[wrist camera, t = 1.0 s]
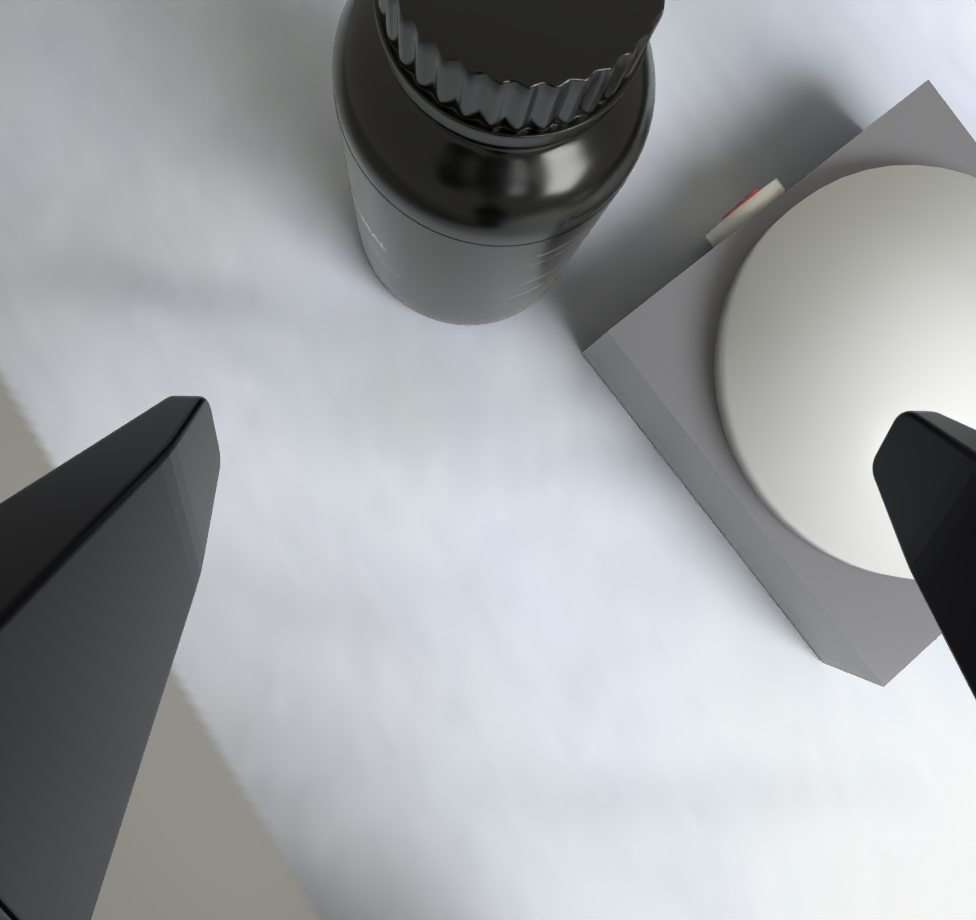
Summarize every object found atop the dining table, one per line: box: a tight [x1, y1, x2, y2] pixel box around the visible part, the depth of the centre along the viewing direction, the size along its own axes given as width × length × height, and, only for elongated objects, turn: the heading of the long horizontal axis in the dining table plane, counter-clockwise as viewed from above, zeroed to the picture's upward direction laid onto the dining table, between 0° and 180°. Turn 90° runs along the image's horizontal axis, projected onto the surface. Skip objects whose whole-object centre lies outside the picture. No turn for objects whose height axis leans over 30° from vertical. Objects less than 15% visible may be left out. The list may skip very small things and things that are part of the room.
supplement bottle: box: [332, 0, 665, 325], centre depth 17 cm, size 7×7×12 cm
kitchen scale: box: [582, 80, 976, 687], centre depth 22 cm, size 13×14×4 cm
